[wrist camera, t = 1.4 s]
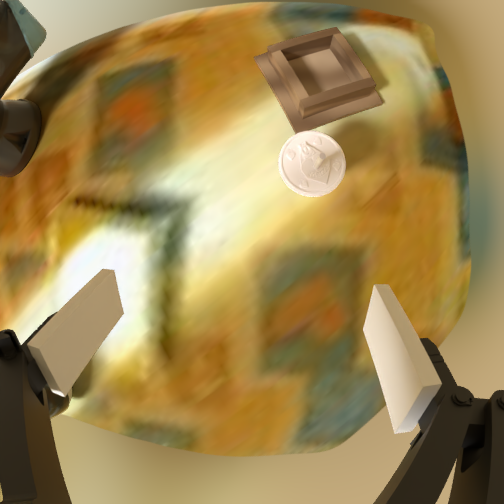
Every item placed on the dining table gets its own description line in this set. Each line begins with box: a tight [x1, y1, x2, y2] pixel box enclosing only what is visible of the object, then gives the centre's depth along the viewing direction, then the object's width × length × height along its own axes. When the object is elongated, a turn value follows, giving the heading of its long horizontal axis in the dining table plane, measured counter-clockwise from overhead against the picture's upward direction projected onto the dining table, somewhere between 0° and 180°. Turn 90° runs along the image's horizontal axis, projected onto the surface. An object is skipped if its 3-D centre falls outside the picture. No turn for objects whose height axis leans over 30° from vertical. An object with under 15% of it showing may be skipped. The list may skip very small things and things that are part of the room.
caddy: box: [254, 27, 383, 134], centre depth 32 cm, size 13×13×4 cm
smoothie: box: [278, 130, 346, 197], centre depth 29 cm, size 6×6×14 cm
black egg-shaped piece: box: [44, 384, 72, 419], centre depth 35 cm, size 10×10×15 cm
